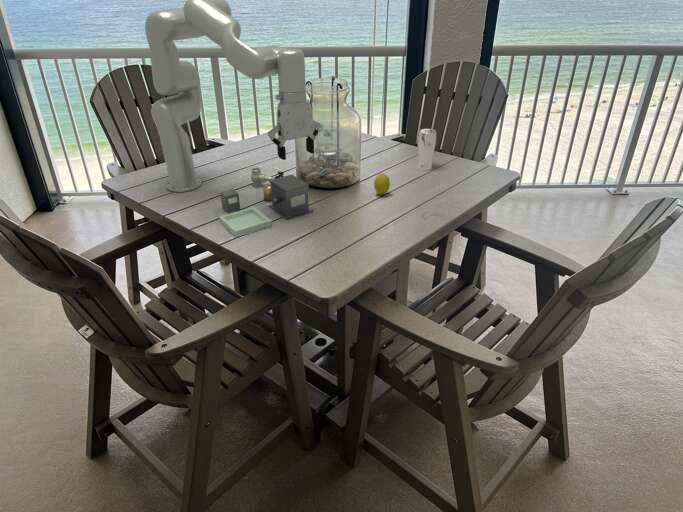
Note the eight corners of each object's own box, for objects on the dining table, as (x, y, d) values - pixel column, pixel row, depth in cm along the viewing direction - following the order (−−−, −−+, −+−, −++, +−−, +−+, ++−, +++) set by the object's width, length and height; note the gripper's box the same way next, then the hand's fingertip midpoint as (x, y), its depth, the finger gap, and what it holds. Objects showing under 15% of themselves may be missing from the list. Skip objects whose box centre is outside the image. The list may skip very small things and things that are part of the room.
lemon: (391, 193, 162) (392, 171, 158) (386, 198, 158) (387, 177, 154) (377, 190, 164) (377, 169, 160) (371, 196, 160) (372, 174, 156)
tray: (220, 222, 144) (219, 216, 142) (254, 212, 149) (253, 206, 148) (236, 237, 135) (235, 231, 134) (271, 226, 141) (271, 220, 140)
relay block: (222, 208, 152) (219, 192, 149) (234, 205, 155) (232, 188, 151) (228, 213, 149) (225, 196, 146) (240, 209, 151) (238, 193, 148)
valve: (248, 188, 167) (278, 192, 164) (246, 171, 163) (276, 175, 160) (256, 181, 172) (285, 185, 169) (254, 165, 169) (284, 168, 165)
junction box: (265, 207, 152) (262, 181, 147) (294, 199, 158) (292, 173, 153) (282, 220, 144) (280, 193, 139) (313, 211, 150) (311, 184, 145)
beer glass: (435, 166, 184) (439, 130, 176) (428, 172, 179) (432, 134, 171) (419, 163, 187) (423, 127, 179) (412, 168, 182) (415, 131, 174)
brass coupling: (262, 199, 158) (260, 185, 156) (272, 196, 160) (271, 183, 158) (267, 203, 156) (266, 189, 153) (277, 200, 158) (276, 186, 155)
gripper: (272, 103, 121) (277, 165, 130) (325, 95, 129) (327, 153, 138) (259, 98, 126) (265, 157, 135) (311, 90, 134) (313, 146, 143)
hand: (296, 155), depth 137 cm, fingers open, 9 cm apart
